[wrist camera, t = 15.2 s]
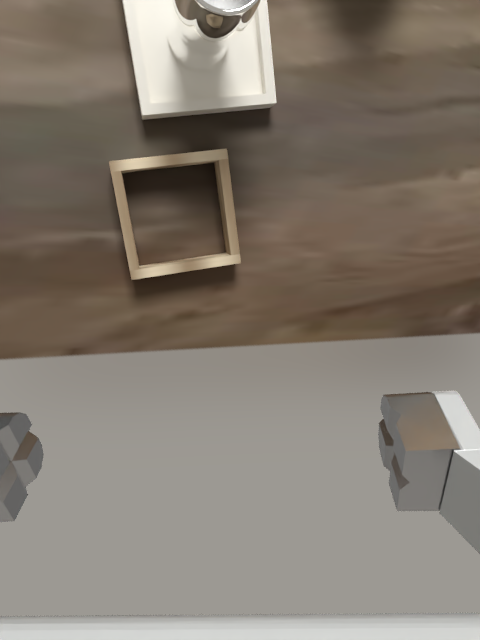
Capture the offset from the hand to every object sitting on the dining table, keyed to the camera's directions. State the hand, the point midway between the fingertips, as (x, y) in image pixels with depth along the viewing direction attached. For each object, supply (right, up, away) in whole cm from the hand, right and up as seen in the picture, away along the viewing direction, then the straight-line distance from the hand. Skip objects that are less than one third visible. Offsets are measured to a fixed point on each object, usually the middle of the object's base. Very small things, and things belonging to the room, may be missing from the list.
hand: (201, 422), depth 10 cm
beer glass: (-3, +31, +35) cm, 47 cm away
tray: (-3, +31, +36) cm, 48 cm away
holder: (-6, +14, +39) cm, 42 cm away
